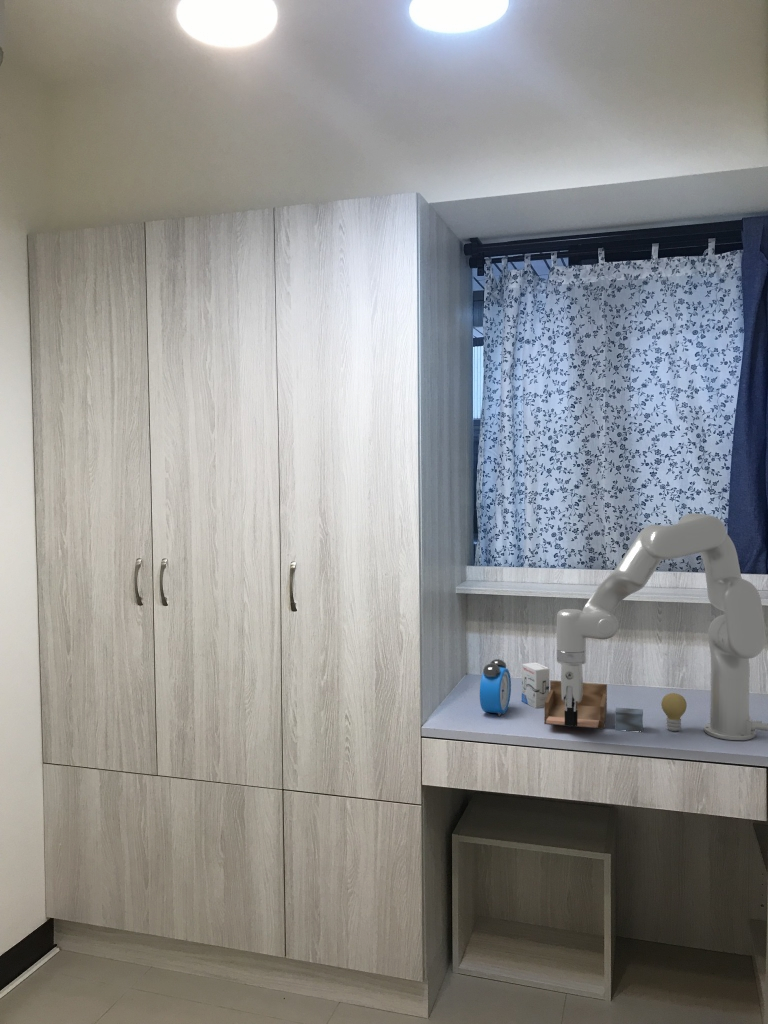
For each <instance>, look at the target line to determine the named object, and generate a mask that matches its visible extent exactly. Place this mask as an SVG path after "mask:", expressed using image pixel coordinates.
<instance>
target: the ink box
mask: <svg viewBox="0 0 768 1024" xmlns="http://www.w3.org/2000/svg"><path fill="white" fill-rule="evenodd" d="M521 665H522V667H521V670H522V671H521V702H522V703H525V704H526V705H529V706H530V707H531V708H534V709H541V708H545V700H546V698H547V696H548V694H549V691H550V668H549V667H547V666H545V665H543V664H542V663H539V662H527V663H522V664H521Z"/></svg>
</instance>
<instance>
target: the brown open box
mask: <svg viewBox="0 0 768 1024" xmlns="http://www.w3.org/2000/svg"><path fill="white" fill-rule="evenodd" d="M607 703H608V684H607V683H596V682H595V683H594V682H583V696H582V700H581V702H579V703H578V701H577V709H576V710H578V719H588V720H599V724H598V727H587V728H588V729H589V728H591V729H602V730H604V729H605V725H606V719H607V714H608V704H607ZM549 716H551V717H563V718H565V701H563V700H562V695H561V680H549V694H548V696H547V698H546V700H545V707H544V717H543V718H544V719H543V721H544V725H550V724H549V723H546V720H547V718H548V717H549ZM553 725H554V726H562V725H561V724H553ZM563 726H566V725H563ZM577 728H586V727H585V726H577Z"/></svg>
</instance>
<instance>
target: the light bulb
mask: <svg viewBox="0 0 768 1024" xmlns="http://www.w3.org/2000/svg"><path fill="white" fill-rule="evenodd" d="M660 703H661V709H662V711H663V712H664V714H665V715H666V725H665V727H666V729H667V730H668V731H670V732H679V731H681V729H682V719H681V718H682V716H684V714H685V713H686V710H687V701H686V698H685V697H684V696H683V695H681V694H679V693H676V692H671V693H667V694H665V695H664V697H662V700H661V702H660Z"/></svg>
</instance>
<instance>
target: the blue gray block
mask: <svg viewBox="0 0 768 1024" xmlns="http://www.w3.org/2000/svg"><path fill="white" fill-rule="evenodd" d="M614 713H615V714H614V716H615V720H614V721H615V722H614V723H615V731H618V730H626V731H625V732H630V731H639V732H638V733H642V732H643V731H644V730H643V729H644V728H643V723H644V720H643V717H644V709H642V708H630V707H615V711H614ZM640 731H641V732H640Z"/></svg>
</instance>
